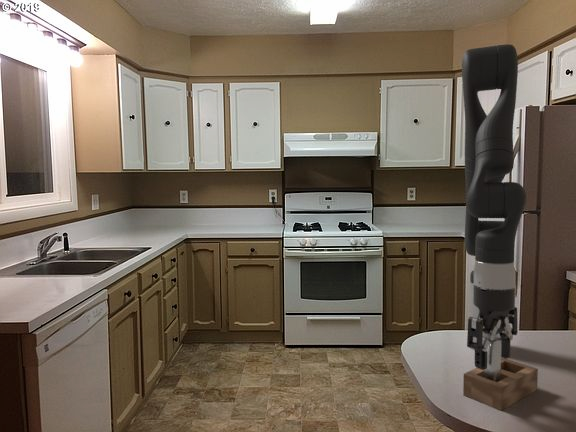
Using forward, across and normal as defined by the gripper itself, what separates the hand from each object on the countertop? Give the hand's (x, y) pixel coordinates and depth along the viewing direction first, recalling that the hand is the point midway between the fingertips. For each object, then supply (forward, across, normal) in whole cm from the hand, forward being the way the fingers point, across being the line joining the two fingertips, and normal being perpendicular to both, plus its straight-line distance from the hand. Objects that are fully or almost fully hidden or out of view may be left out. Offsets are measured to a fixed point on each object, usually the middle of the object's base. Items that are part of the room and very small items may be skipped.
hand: (492, 362), depth 92 cm
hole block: (+7, -3, 0) cm, 8 cm away
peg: (+7, 0, 0) cm, 7 cm away
